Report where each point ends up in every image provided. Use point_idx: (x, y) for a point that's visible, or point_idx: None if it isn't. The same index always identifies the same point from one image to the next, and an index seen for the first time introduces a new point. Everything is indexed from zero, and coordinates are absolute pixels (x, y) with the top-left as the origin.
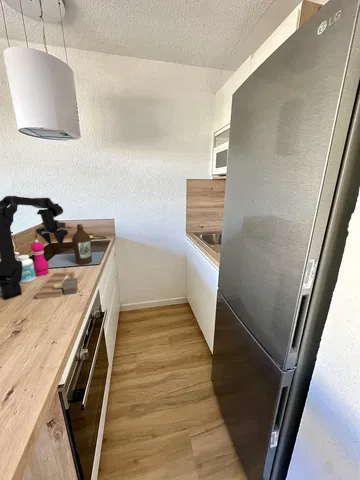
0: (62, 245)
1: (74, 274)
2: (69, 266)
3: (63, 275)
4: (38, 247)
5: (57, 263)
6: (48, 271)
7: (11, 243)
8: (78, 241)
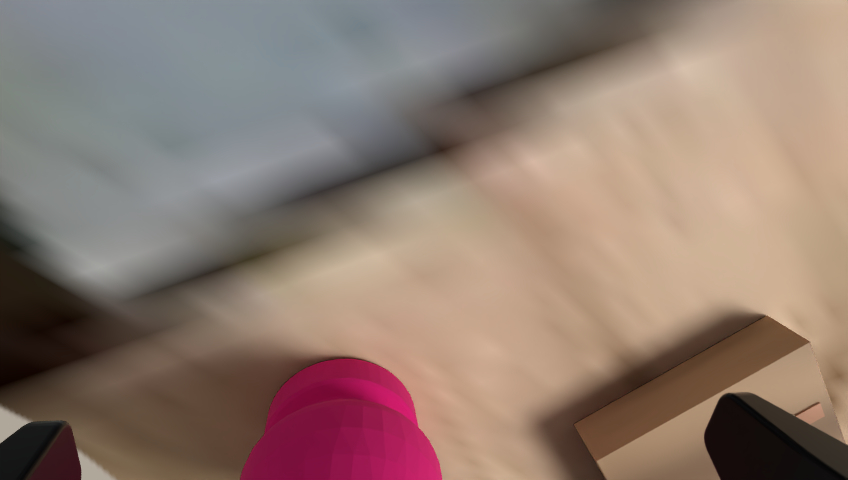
0: (765, 406)
1: (783, 330)
2: (483, 92)
3: None
4: None
5: (152, 41)
6: (400, 390)
7: None
8: None
